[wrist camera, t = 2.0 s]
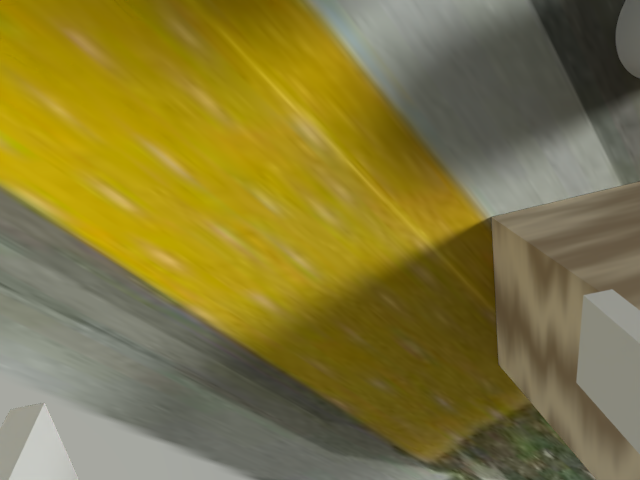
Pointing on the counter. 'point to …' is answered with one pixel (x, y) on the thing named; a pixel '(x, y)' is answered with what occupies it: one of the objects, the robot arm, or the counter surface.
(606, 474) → the birch stand
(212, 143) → the counter surface
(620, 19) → the coffee cup
